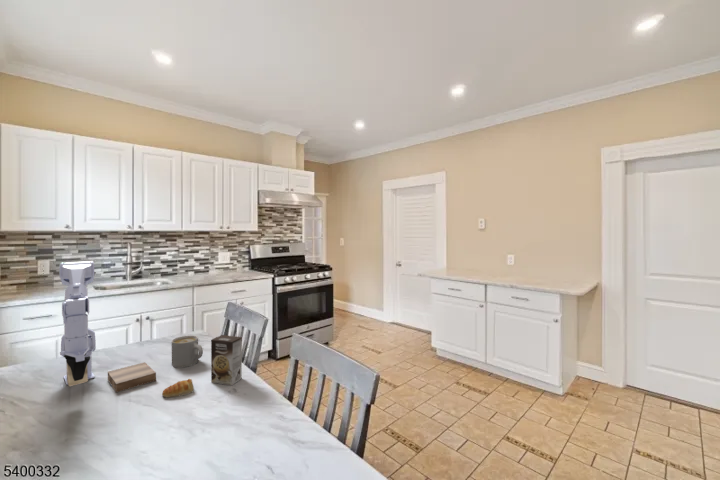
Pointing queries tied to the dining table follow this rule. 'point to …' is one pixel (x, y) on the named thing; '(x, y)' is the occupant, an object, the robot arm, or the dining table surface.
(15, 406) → the dining table surface
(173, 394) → the pastry
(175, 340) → the coffee mug
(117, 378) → the walnut base
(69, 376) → the beech block
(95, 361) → the dining table surface
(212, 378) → the coffee box
